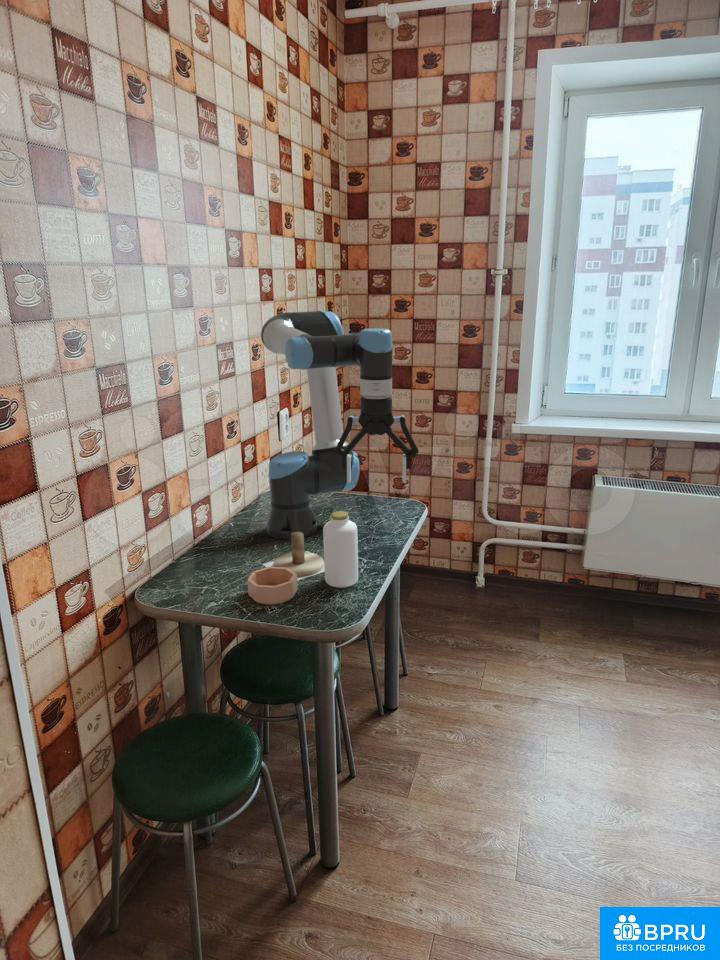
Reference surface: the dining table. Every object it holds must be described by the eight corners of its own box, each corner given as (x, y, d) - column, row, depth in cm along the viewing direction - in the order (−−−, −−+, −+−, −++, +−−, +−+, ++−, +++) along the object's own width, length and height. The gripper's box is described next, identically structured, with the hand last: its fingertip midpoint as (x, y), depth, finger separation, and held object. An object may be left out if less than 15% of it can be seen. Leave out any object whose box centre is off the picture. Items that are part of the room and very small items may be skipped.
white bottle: (324, 575, 165) (321, 508, 160) (357, 573, 166) (355, 507, 161) (325, 590, 157) (322, 520, 152) (359, 588, 158) (358, 519, 153)
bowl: (242, 594, 156) (241, 575, 155) (282, 581, 163) (281, 563, 161) (264, 611, 148) (262, 591, 147) (304, 597, 154) (303, 578, 153)
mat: (262, 565, 172) (262, 564, 172) (307, 552, 180) (307, 551, 180) (289, 584, 161) (288, 582, 161) (336, 569, 169) (335, 567, 169)
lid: (264, 564, 172) (262, 532, 169) (306, 552, 179) (305, 521, 176) (289, 581, 162) (287, 548, 159) (333, 567, 169) (332, 535, 166)
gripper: (322, 399, 151) (324, 486, 157) (430, 398, 150) (428, 486, 157) (324, 393, 158) (327, 476, 165) (428, 392, 157) (426, 476, 164)
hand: (376, 481), depth 161 cm, fingers open, 13 cm apart
